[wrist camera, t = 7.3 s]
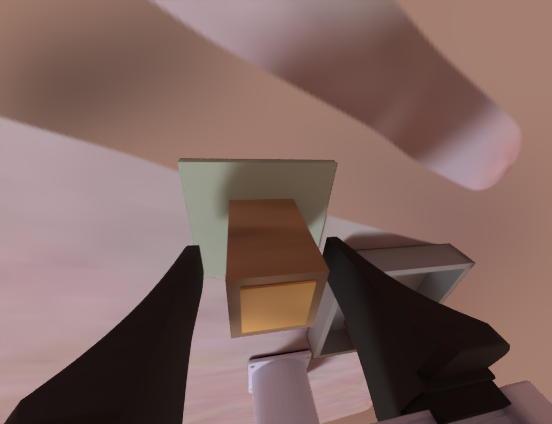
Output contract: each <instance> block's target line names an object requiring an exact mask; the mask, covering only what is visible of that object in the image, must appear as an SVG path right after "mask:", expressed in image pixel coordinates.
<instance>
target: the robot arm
mask: <svg viewBox="0 0 552 424" xmlns="http://www.w3.org/2000/svg"><path fill="white" fill-rule="evenodd" d="M322 256H323V258H324V260H325V262H326V264H327V266H328V268H329V270H330V271H329V275H328V278H327V282H328V284H329V286H330V288H331V290H332V292H333V294H334V296H335V298H336V300H337V303H338V305H339V307H340V309H341V311H342V313H343V315H344V317H345V320H346V322H347V325H348V328H349V330H350V333H351V336H352V339H353V341H354V344H355V347H356V350H357V353H358V356H359V359H360V362H361V366H362V369H363V372H364V375H365V378H366V382H367V385H368V389H369V392H370V396H371V399H372V403H373V407H374V410H375V414H376V418H377V420H378V422H376V423H372V424H552V403H551V402H550V401H549V400H548V399H547V398H546V397H545V396H544V395H543V394H542V393H541V392H540V391H539V390H538V389H537V388H536V387H535V386H534V385H533V384H532V383H531V382H529V381H522V382H518V383H514V384H509V385H506V386H503V387H500V388H498V387H497V386H496V384H495V383H494V382H493V381H492V380H494V379H495V376H494V374H493V373H492V372H491V371H490V370H489V369H488V367H489V366H491V365H492V364H493V363H495V362H496V361H498V360H499V359H500V358H502V357H503V356H504V355H505V354H506V353H507V352H508V351H509V349H510V345H509V344H508V343H507V342H506V341H505V340H504V339H503V338H502V337H501V336H500V335H499V334H498V333H497V332H496V331H495V330H494V329H493V328H492V327H491V326H490V325H489V324H487V323H485V322H483V321H480V320H478V319H475V318H473V317H470V316H468V315H465V314H463V313H460V312H458V311H456V310H453V309H451V308H449V307H447V306H445V305H442V304H440V303H438V302H436V301H434V300H432V299H430V298H428V297H426V296H424V295H422V294H420V293H418V292H416V291H414V290H412V289H411V288H409V287H407V286H405V285H404V284H402V283H400V282H399V281H397V280H395V279H394V278H392V277H391V276H389V275H387V274H386V273H384V272H383V271H382V270H380V269H379V268H377V267H376V266H374V265H373V264H372V263H370V262H369V261H367V260H366V259H365V258H364V257H362V256H361V255H360V254H358V253H357V252H356V251H354V250H353V249H352V248H351V247H349V246H348V245H347V244H346V243H344V242H343V241H342V240H340V239H339V238H338V237H327V239H326V243H325V247H324V251H323V255H322ZM203 278H204V269H203V263H202V258H201V252H200V246H199V245H192V246H186V247H185V249H184V250H183V251H182V253H181V254H180V256H179V257H178V258H177V260H176V261H175V263H174V264H173V265H172V267H171V268H170V269H169V270H168V272H167V273H166V274H165V275H164V277H163V278H162V279H161V280H160V281H159V283H158V284H157V285H156V286H155V287H154V288H153V289H152V291H151V292H150V293H149V294H148V295H147V296H146V297H145V298H144V299H143V300H142V302H141V303H140V304H139V305H138V306H137V307H136V308H135V309H134V310H133V311H132V312H131V313H130V314H129V315H128V316H126V317H125V318H124V319H123V320H122V321H121V322H120V323H119V324H118V325H117V326H116V327H115V328H113V329H112V330H111V331H110V332H109V333H108V334H107V335H106V336H104V337H103V338H102V339H101V340H100V341H98V342H97V343H96V344H95V345H94V346H92V347H91V348H90V349H89V350H87V351H86V352H85V353H84V354H83V355H81V356H80V357H79V358H78V359H76V360H75V361H74V362H73V363H71V364H70V365H69V366H67V367H66V368H65V369H63V370H62V371H61V372H59V373H58V374H57V375H55V376H54V377H53V378H51V379H50V380H48V381H47V382H46V383H44V384H43V385H42V386H40V387H39V388H38V389H36V390H35V391H33V392H32V393H31V394H29V395H28V396H26V397H25V398H24V399H22V400H21V401H20V402H19V404H18V405H17V406H16V408H15V409H14V410H13V412H12V413H11V414H10V416H9V417H8V419H7V420H6V422H5V423H4V424H182V421H183V410H184V400H185V390H186V381H187V373H188V364H189V356H190V348H191V341H192V335H193V330H194V326H195V321H196V317H197V312H198V308H199V303H200V298H201V294H202V288H203ZM311 355H312V354H311V351H309V350H308V351H302V352H296V353H289V354H283V355H277V356H271V357H265V358H259V359H253V360H250V361H249V362H248V380H249V393H253V409H254V424H320V423H319V419H318V415H317V411H316V407H315V403H314V399H313V395H312V391H311V387H310V383H309V379H308V375H307V371H306V370H307V367H308V364H309V361H310V358H311Z"/></svg>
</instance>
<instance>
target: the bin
mask: <svg viewBox="0 0 552 424" xmlns="http://www.w3.org/2000/svg"><path fill="white" fill-rule="evenodd" d="M355 251H356V252H357V253H358V254H360V255H361V256H362V257H364V258H365V259H366V260H367V261H369V262H370V263H372V264H373V265H374V266H376V267H377V268H379V269H380V270H382V271H383V272H384V273H386V274H387V275H389V276H391V277H392V278H394V279H395V280H397V281H399V282H400V283H402V284H404V285H405V286H407V287H409V288H411V289H412V290H414V291H416V292H418V293H420V294H422V295H424V296H426V297H428V298H430V299H432V300H434V301H436V302H438V303H440V304H442V303H443V302H444V301H445V300H446V298H447V297H448V296H449V295H450V294H451V292H452V291H453V290H454V289H455V288H456V286H457V285H458V284H459V282H460V281H461V280H462V279H463V277H464V276H465V275H466V274H467V273H468V271H469V270H470V269H471V268H472V266H473V265H474V264H475V262H474V261H472V260H471V259H470V258H468V257H467V256H466V255H464V254H463V253H462V252H460V251H459V250H458V249H456V248H455V247H454V246H452V245H451V244H435V245H422V246H408V247H395V248H381V249H368V250H355ZM344 320H345V317H344V315H343V313H342V311H341V309H340V307H339V305H338V303H337V300H336V298H335V296H334V294H333V292H332V290H331V288H330V286H329V284H328V282H326V285H325V288H324V292H323V295H322V299H321V302H320V306H319V309H318V312H317V316H316V319H315V323H314V326H313V327H309V328H308V332H307V339H308V342H309V346H310V349H311V353H312V356H313V359H317V358H323V357H329V356H334V355H340V354H346V353H352V352H357V351H356V349H355V347H354V344H353V342H352V340H351V338H350V336H349V333H348V331H347V329H346V327H345V325H344Z"/></svg>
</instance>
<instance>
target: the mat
mask: <svg viewBox="0 0 552 424" xmlns="http://www.w3.org/2000/svg"><path fill="white" fill-rule="evenodd" d="M337 164H338V163H337V162H335V161H334V160H280V159H192V158H188V159H187V158H180V159H179V161H178V167H179V172H180V177H181V182H182V187H183V192H184V197H185V203H186V208H187V213H188V218H189V223H190V228H191V233H192V238H193V244H194V245H199V246H200V252H201V258H202V263H203V269H204V278H209V277H221V276H226V259H227V238H228V218H229V200H259V199H294V201H295V203H296V205H297V207H298V209H299V211H300V213H301V215H302V217H303V219H304V221H305V223H306V225H307V227H308V229H309V231H310V233H311V235H312V237H313V239H314V241H315V243H316V245H317V247H318V246H319V242H320V238H321V233H322V229H323V225H324V220H325V216H326V212H327V207H328V203H329V198H330V194H331V190H332V185H333V181H334V176H335V172H336V168H337Z"/></svg>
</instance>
